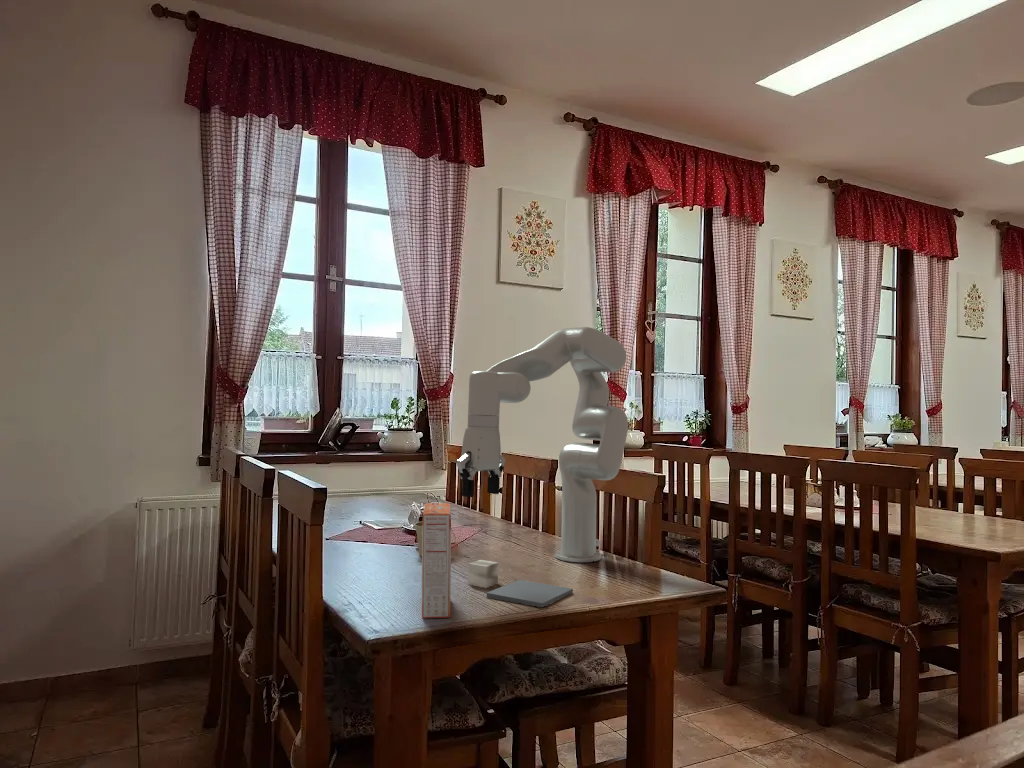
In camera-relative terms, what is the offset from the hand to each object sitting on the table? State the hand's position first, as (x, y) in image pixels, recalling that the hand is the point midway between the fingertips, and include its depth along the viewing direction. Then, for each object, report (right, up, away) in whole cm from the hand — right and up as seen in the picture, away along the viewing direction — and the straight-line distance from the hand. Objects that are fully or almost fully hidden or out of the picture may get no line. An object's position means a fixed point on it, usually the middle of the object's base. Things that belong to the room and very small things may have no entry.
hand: (480, 495), depth 171 cm
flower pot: (-15, -21, +28) cm, 38 cm away
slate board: (+11, -21, -11) cm, 26 cm away
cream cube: (+1, -21, -2) cm, 21 cm away
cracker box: (-8, -20, -22) cm, 31 cm away
